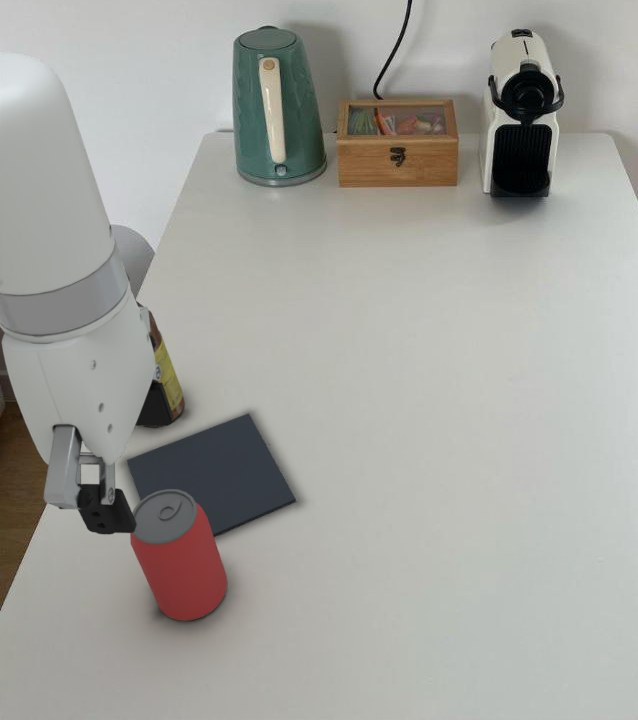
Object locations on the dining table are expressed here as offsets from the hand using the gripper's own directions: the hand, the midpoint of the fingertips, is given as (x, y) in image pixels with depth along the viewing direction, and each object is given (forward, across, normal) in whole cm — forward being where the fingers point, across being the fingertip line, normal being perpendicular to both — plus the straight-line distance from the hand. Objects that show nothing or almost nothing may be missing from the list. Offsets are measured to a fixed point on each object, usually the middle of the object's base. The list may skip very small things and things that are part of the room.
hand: (134, 472), depth 58 cm
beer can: (+22, -4, -1) cm, 23 cm away
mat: (+22, -17, -3) cm, 28 cm away
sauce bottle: (+22, -27, -11) cm, 37 cm away
